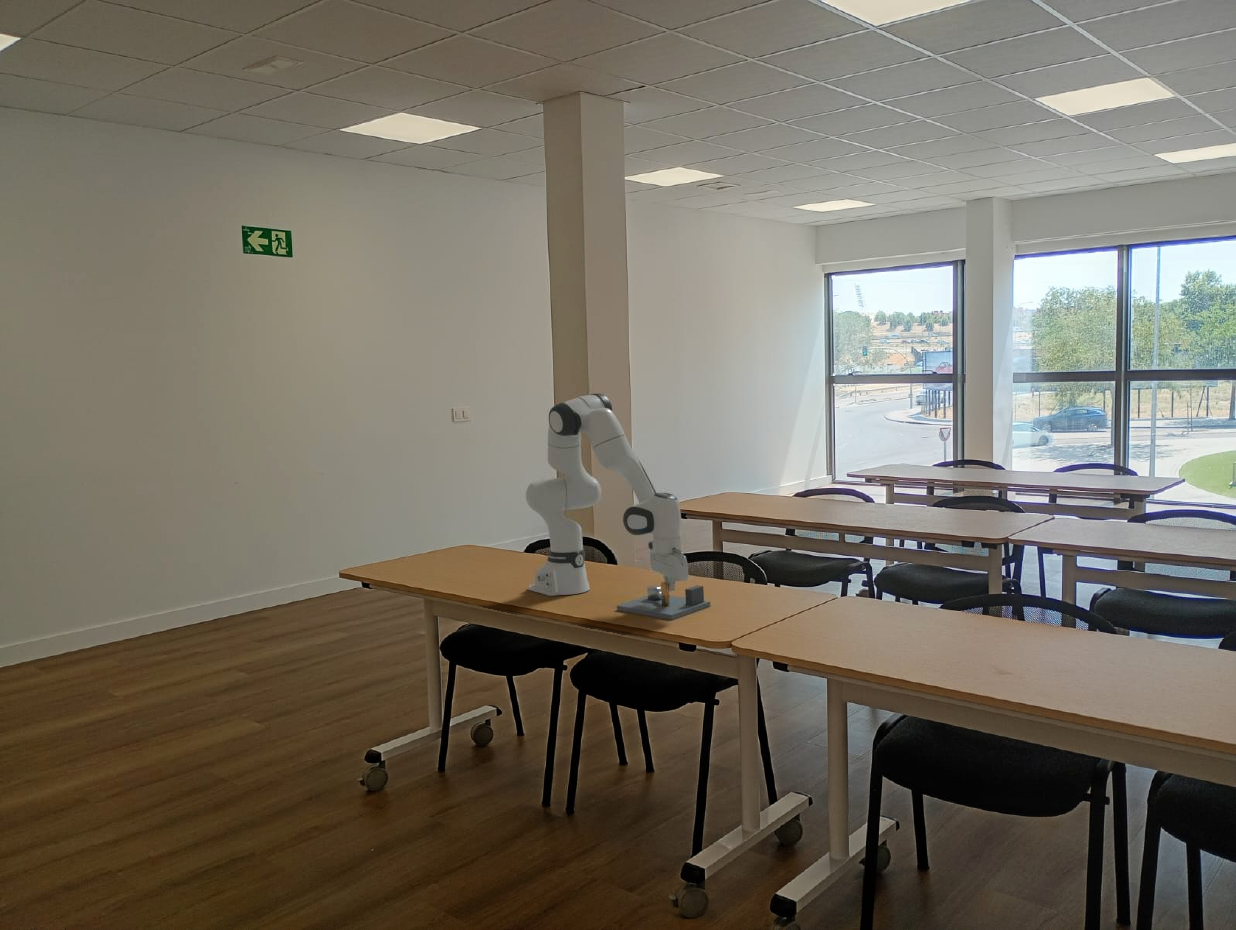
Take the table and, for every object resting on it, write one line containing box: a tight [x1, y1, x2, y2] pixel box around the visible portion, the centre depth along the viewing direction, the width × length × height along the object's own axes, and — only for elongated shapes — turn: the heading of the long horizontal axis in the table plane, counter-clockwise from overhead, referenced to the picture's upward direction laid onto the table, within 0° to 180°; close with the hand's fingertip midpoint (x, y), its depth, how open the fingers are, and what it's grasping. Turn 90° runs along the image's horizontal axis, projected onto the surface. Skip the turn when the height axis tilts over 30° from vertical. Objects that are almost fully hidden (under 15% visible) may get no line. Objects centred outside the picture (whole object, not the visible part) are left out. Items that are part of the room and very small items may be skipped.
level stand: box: [616, 584, 711, 621], centre depth 296 cm, size 22×19×6 cm
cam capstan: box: [646, 581, 670, 606], centre depth 298 cm, size 14×5×7 cm, turn 16°
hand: (670, 590), depth 293 cm, fingers closed, pressing on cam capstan
